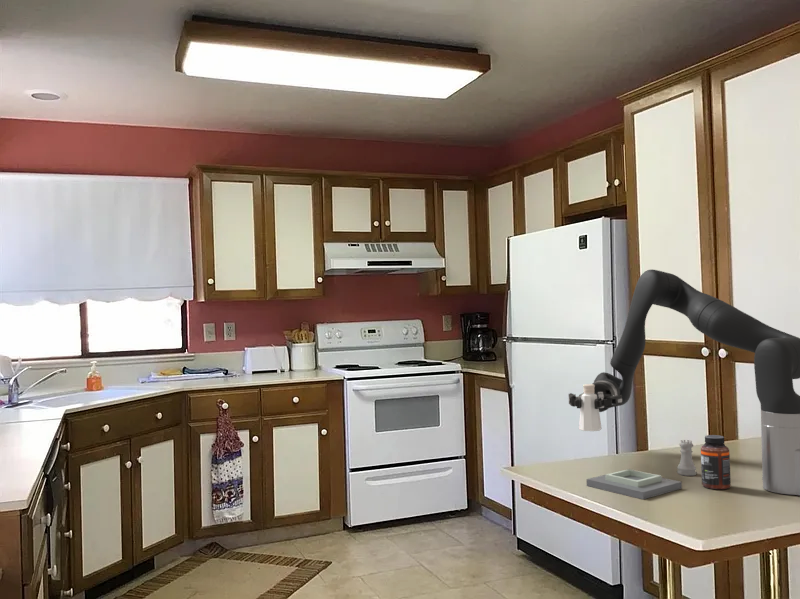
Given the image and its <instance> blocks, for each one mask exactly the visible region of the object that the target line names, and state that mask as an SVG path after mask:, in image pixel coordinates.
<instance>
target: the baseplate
mask: <svg viewBox="0 0 800 599" xmlns="http://www.w3.org/2000/svg"><path fill="white" fill-rule="evenodd" d="M682 483H683V482H682V481H679V480H675V479H670V478H666V477H662V475H661V474H656V473H650V472H645V471H642V470H641V471H640V470H635V469H633V468H627V469H623V470H619V471H616V472H615V471H614V472H609V473H605V474H603V475H602V474H601V475H599V476H594V477H589V478H586V487H589V488H594V489H598V490H603V491H606V492H607V491H608V492H611V493H616V494H619V495H623V496H629V497H630V498H631V497H632V498H636V499H640V500H646V499H649V498H653V497H656V496H659V495H663V494H666V493H670V492H674V491H679V490H682V488H683V485H682Z"/></svg>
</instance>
